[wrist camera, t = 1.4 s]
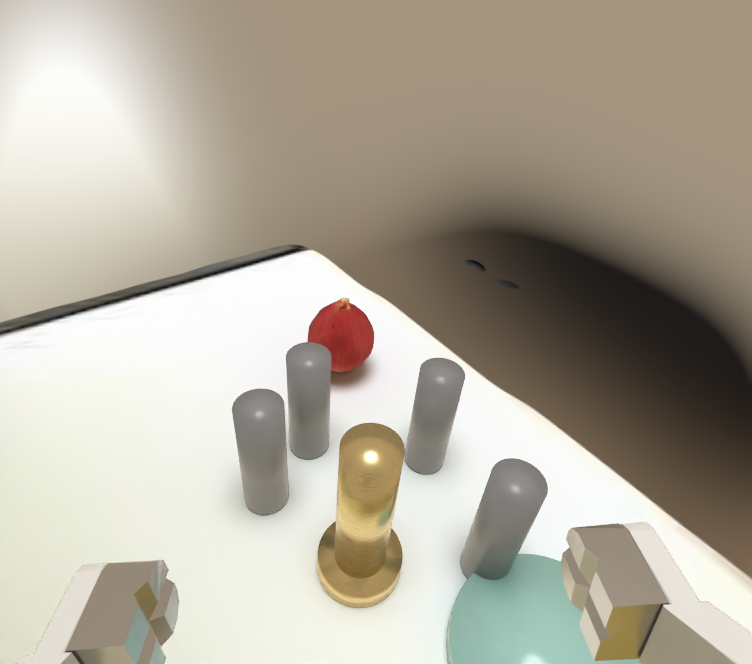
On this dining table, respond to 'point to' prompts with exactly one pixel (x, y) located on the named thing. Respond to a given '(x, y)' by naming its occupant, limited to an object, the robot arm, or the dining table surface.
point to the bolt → (364, 519)
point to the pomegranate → (343, 334)
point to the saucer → (519, 619)
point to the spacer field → (423, 452)
